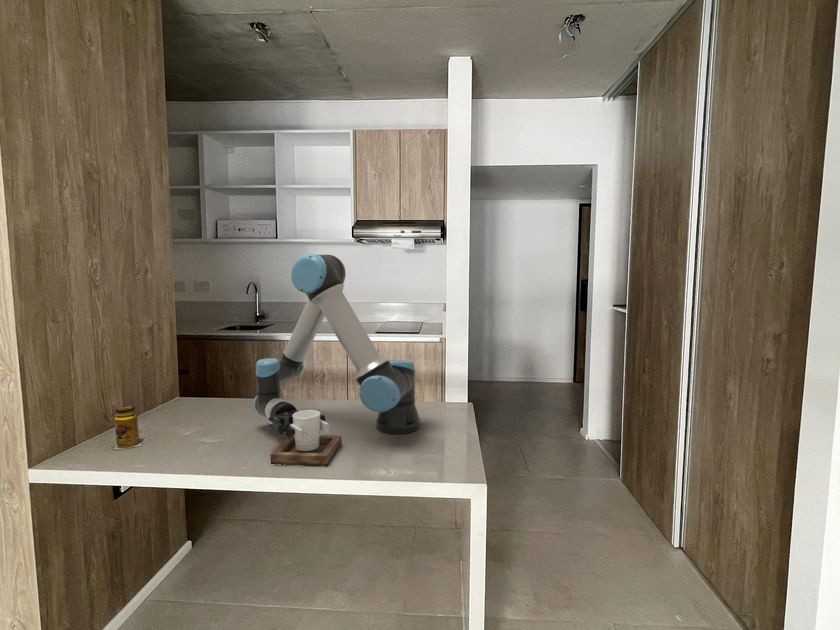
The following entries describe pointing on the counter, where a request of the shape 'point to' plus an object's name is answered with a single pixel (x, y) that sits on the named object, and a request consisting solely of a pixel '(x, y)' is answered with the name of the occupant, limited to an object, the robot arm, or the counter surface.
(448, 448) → the counter surface
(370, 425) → the counter surface
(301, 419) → the white cup
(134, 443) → the condiment
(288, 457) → the wooden tray
